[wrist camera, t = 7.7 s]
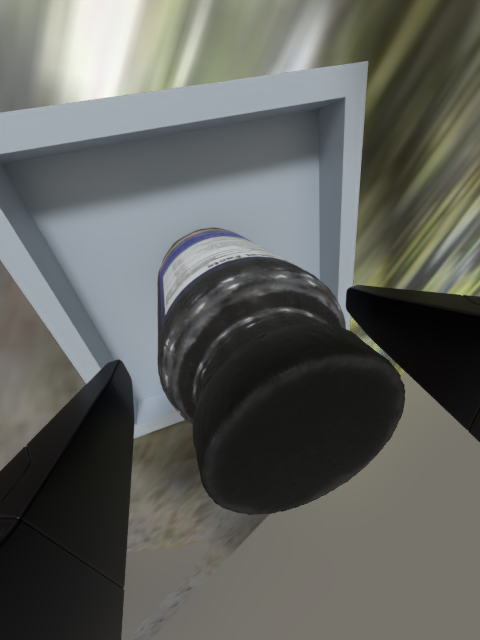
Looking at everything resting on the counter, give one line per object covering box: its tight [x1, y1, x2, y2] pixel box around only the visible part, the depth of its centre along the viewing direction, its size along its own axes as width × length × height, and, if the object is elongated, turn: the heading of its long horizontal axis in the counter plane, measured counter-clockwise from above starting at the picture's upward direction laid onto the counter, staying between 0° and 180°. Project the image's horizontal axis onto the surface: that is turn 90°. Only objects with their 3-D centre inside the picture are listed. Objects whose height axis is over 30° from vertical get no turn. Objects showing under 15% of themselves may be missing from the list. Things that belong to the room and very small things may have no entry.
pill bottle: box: [157, 228, 405, 515], centre depth 10 cm, size 6×6×11 cm
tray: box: [0, 61, 368, 438], centre depth 14 cm, size 16×16×2 cm
